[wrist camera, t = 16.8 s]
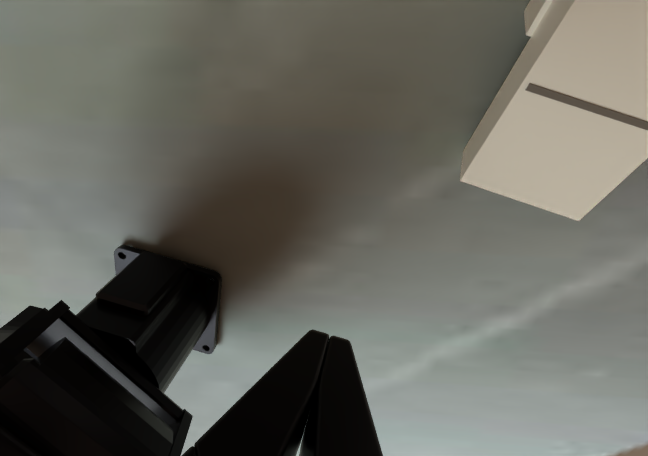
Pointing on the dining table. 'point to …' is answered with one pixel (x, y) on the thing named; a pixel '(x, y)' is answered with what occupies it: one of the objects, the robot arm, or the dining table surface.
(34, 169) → the dining table surface
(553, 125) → the domino
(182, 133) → the dining table surface
